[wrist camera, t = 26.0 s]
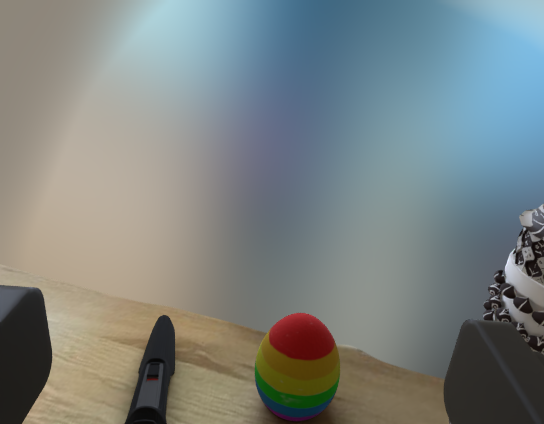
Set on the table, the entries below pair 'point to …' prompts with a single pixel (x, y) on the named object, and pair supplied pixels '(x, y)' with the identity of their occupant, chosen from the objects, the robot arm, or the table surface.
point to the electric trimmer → (154, 376)
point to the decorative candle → (522, 284)
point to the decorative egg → (297, 367)
